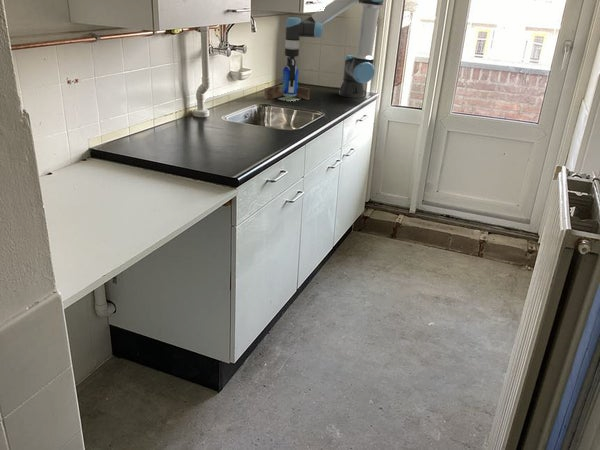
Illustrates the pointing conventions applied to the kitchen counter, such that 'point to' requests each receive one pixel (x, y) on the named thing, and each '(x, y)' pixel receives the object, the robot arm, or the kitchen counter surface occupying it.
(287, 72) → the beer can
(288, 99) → the pad
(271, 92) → the corner walls
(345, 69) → the robot arm
